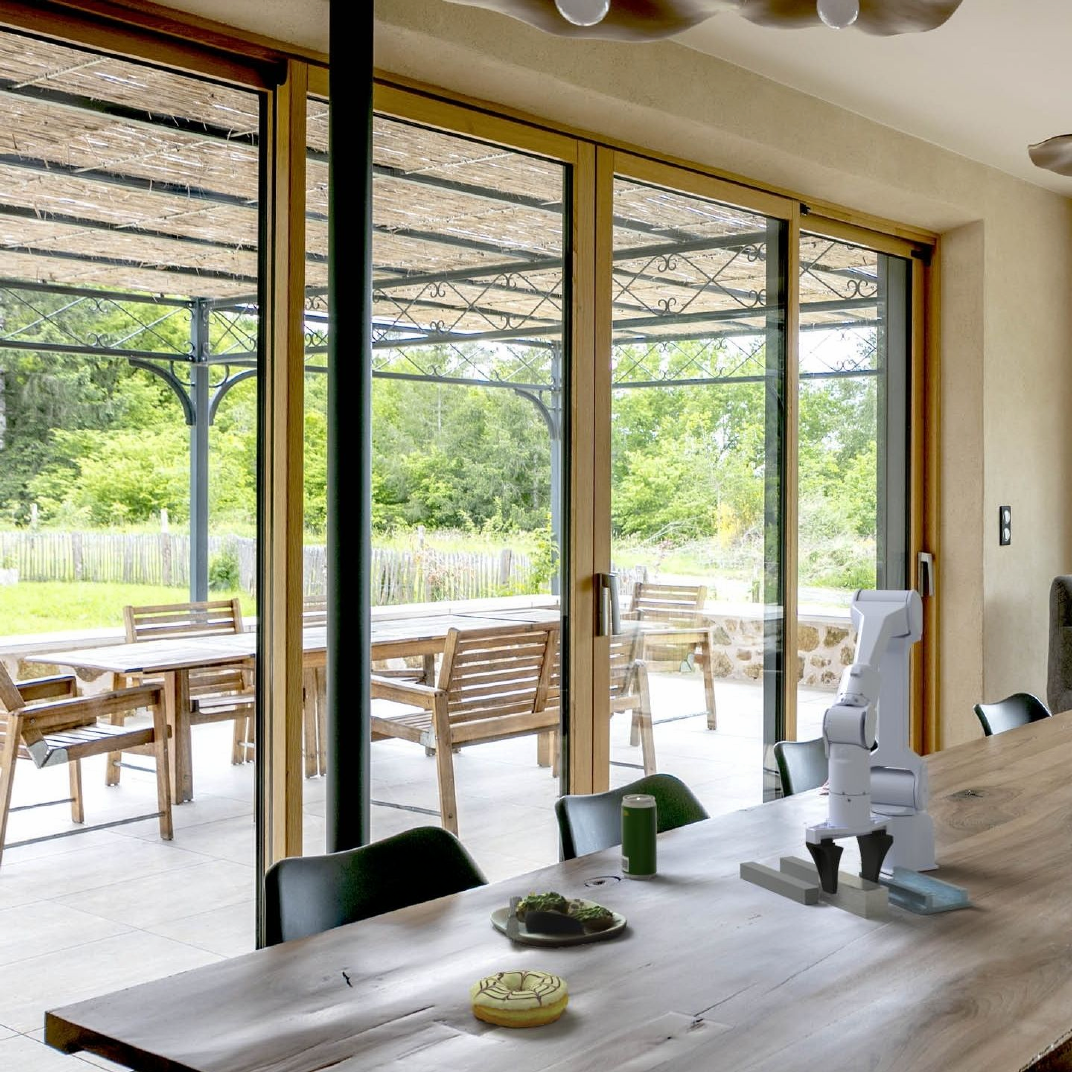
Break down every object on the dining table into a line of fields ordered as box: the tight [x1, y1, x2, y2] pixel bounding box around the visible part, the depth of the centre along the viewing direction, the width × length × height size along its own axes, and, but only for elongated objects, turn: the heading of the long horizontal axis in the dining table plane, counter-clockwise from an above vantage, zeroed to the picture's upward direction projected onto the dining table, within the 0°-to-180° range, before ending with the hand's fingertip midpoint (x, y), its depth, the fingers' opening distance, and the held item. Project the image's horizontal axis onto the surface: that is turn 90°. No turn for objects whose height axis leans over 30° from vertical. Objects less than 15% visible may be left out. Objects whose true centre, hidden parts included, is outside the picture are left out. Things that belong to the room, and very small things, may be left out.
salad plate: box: [489, 890, 628, 949], centre depth 172 cm, size 19×18×5 cm
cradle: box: [858, 866, 973, 916], centre depth 184 cm, size 9×14×2 cm, turn 25°
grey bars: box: [739, 855, 820, 906], centre depth 190 cm, size 10×16×2 cm, turn 25°
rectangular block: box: [819, 870, 890, 920], centre depth 180 cm, size 4×10×4 cm, turn 26°
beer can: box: [620, 793, 658, 881], centre depth 197 cm, size 5×5×12 cm
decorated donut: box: [469, 969, 570, 1029], centre depth 141 cm, size 10×11×4 cm
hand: (849, 888), depth 179 cm, fingers open, 7 cm apart
